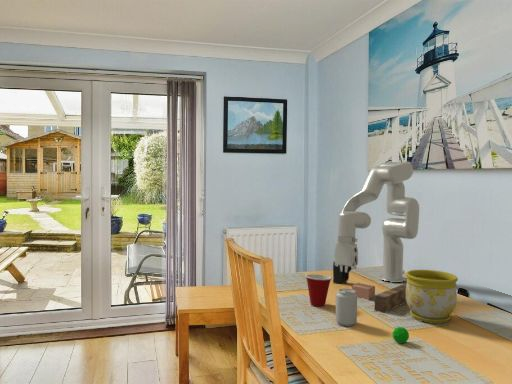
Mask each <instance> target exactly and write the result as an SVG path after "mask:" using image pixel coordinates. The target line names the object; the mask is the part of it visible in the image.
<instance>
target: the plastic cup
mask: <svg viewBox="0 0 512 384" xmlns="http://www.w3.org/2000/svg"><path fill="white" fill-rule="evenodd" d="M304 276H305V278H306V283H307V288H308V297H309V303H310V305H311V306H313V307H317V308H318V307H319V308H320V307H324V306H326V302H327V297H328V291H329V288H330V284H331V280H333V276H332V277H331V276H330V275H325V274H315V273H314V274H313V273H311V274H305V275H304Z"/></svg>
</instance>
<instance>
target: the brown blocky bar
mask: <svg viewBox="0 0 512 384" xmlns="http://www.w3.org/2000/svg"><path fill="white" fill-rule="evenodd" d="M406 285H407V282H404V283H403V284H401V285H399V286H395V287H392V288H391V289H388V290H385V291H383V292H380V293H377V294H375V297H374V311H375V310H376V311H375V312H379V311H380V312H379V313H383V312H385V313H387V312H388V311H387V310H389V311H391V310H393V309H395V308H397V307H399V306H398V305H400V304H402V305H404V304H405V303H406V304H407V301H406ZM403 303H404V304H403ZM396 306H397V307H396ZM400 306H401V305H400ZM394 307H395V308H394ZM392 308H393V309H392ZM390 309H391V310H390ZM386 311H387V312H386Z"/></svg>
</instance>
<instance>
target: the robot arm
mask: <svg viewBox="0 0 512 384" xmlns="http://www.w3.org/2000/svg"><path fill="white" fill-rule="evenodd" d="M413 173H414V167H413V165H412V163H410V162H407V161H386V162H382V163H380V164H379V165H376V166H373V167H371V169H370V170H369V172H368V174H367V176H366V179H365V181H364V183H363V186H362V187H361V189H360V191H358V192H357V193H355V194H354V195H353V196H352V197H350V198H349V199H348V200H347V201H346V203H345V205H344V206H343V208H342V211H341V212H340V213H339V214H338V229H337V230H338V231H337V232H338V234H337V241H336V244H335V249H334V258H333V259H334V260H333V261H334V262H335V266H337V267H339V269H340V271H341V280H342V281H349V278H350V277H349V276H350V272H351V271H352V270H357V266H358V265H359V250H358V244H357V243H356V242H358V238H356V230H357V229H362V230H363V229H367V228H368V227H369V226H370V225H371V223H372V218H371V216H370V214H368V213H367V212H365V211H364V212H363V211H356V210H357V209H359V208H360V207H362V206H364V205H366V204H369V203H372V202H374V201H376V200H378V198H379V196H380V193H381V192H382V189H383V187H384V185H386V187H387V188H386V189H387V192H386V193H387V194H386V213H388V214H389V215H392V216H397V217H398V218H397V217H388V218H386V219H384V220H383V222H382V225H381V227H382V228H381V230H382V235H383V260H382V261H383V262H382V263H383V265H382V274H381V275H380V276H379V280H380V279H381V280H380V281H382V280H384V281H383V282H385V281H390V282H389V283H392V282H402V283H404V282H403V281H405V280H406V281H407V279H406V277H403V275H404V274H406V271H405V269H403V268H404V243H403V241H402V239H406V240H413V239H415V238H416V237H417V235H418V233H419V224H420V223H419V222H420V204H419V202H418V200H417V198H414V197H409V196H408V197H406V195H405V194H406V193H405V192H406V187H405V184H404V182H405V181H407V180H409V179H410V178H411V177H412V176H413ZM399 217H405V219H404V218H399ZM345 266H346V267H345ZM406 281H405V282H406Z"/></svg>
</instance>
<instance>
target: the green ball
mask: <svg viewBox="0 0 512 384" xmlns="http://www.w3.org/2000/svg"><path fill="white" fill-rule="evenodd" d="M392 338H393V340H394V342H396V343H398V344H400V343H401V344H404V343H407V342H408V340H409V339H410V333H409V331H408V330H407V329H406V328H405V327H403V326H398V327H395V329H394V330H393V331H392Z"/></svg>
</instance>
